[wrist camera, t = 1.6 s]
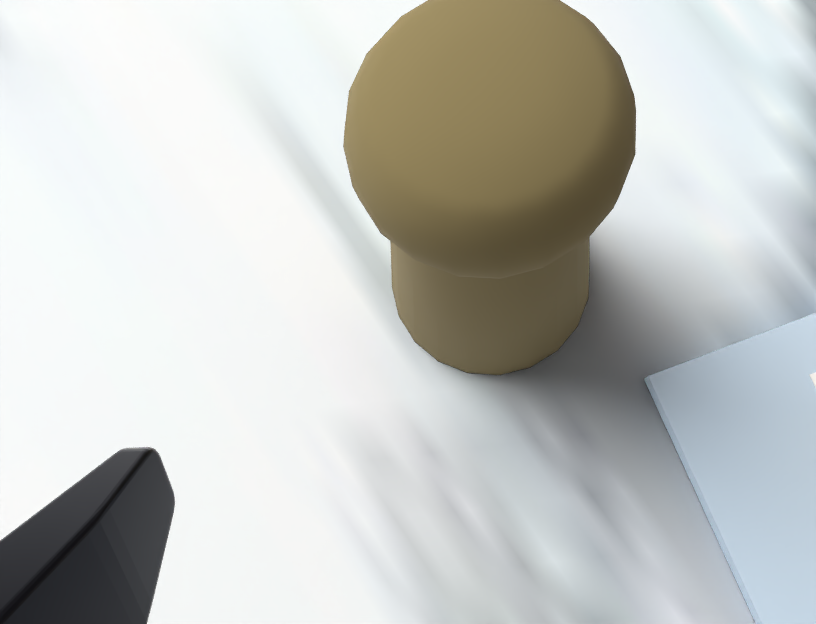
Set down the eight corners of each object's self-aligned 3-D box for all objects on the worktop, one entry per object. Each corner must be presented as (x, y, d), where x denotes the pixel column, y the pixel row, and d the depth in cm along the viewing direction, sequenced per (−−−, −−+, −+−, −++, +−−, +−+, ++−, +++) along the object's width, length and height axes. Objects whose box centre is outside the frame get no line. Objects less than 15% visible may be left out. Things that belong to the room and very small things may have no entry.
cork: (602, 365, 21) (716, 244, 10) (398, 383, 21) (306, 286, 11) (576, 175, 22) (652, -104, 12) (386, 197, 23) (293, -51, 12)
